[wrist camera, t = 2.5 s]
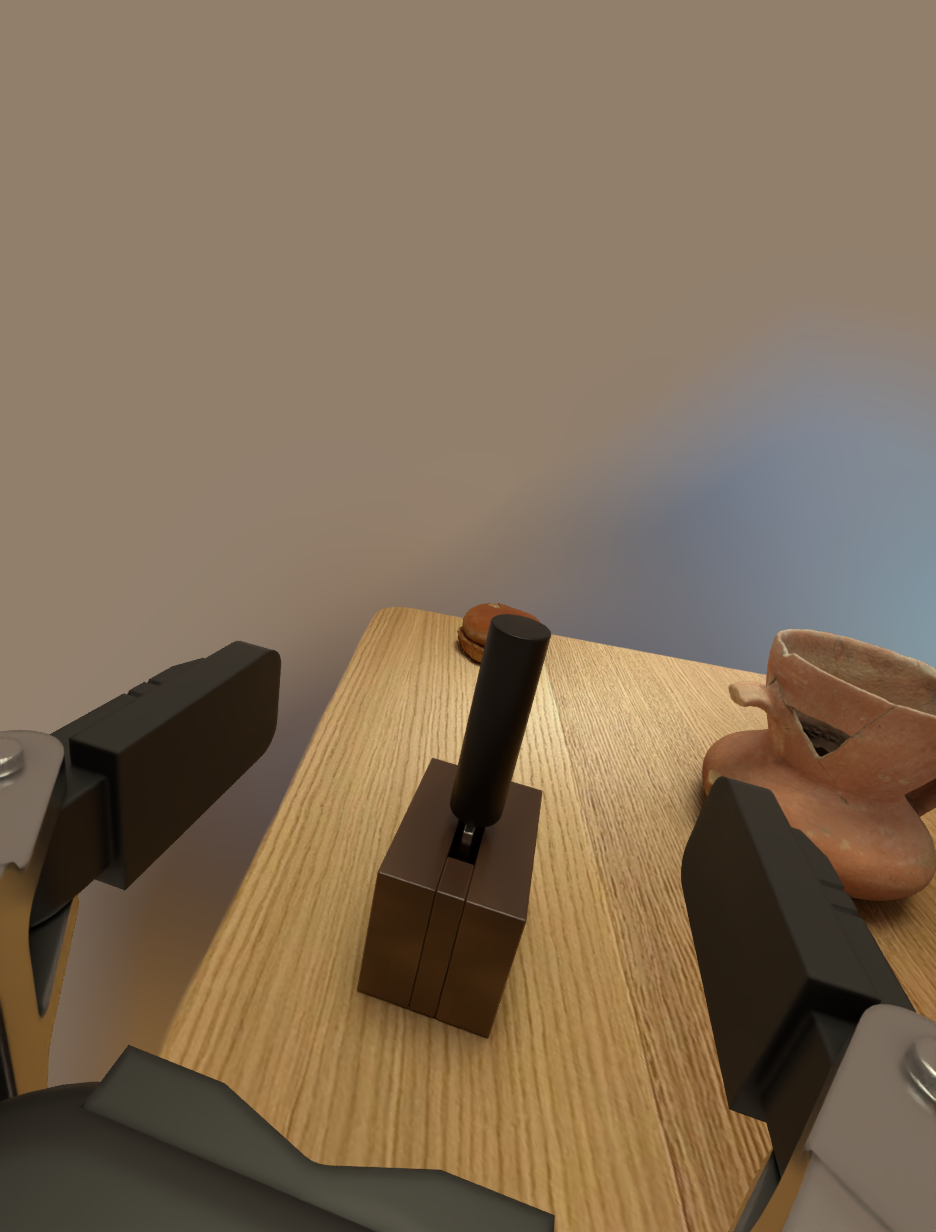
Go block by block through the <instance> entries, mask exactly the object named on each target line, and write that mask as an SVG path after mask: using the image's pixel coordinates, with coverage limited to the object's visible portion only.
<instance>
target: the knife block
mask: <svg viewBox="0 0 936 1232" xmlns="http://www.w3.org/2000/svg"><path fill="white" fill-rule="evenodd" d="M457 767H458V765H455V764H452V763H448V762H445V761H442V760H438V759H435V758H432V759H431V761H430V764H429V766H428V768H427V770H426V772H425V774H424V776H423V778H422V780H421V782H420V785H419V787H418V789H417V791H416V793H415V795H414V797H413V799H412V801H411V803H410V806H409V808H408V810H407V812H406V814H405V816H404V818H403V820H402V822H401V824H400V826H399V829H398V831H397V833H396V835H395V837H394V839H393V841H392V843H391V845H390V847H389V850H388V852H387V854H386V856H385V858H384V860H383V862H382V864H381V866H380V868H379V870H378V873H377V879H376V885H375V890H374V896H373V902H372V907H371V913H370V919H369V925H368V930H367V936H366V942H365V947H364V953H363V959H362V965H361V970H360V976H359V982H358V987H357V990H359V991H361V992H364V993H367V994H370V995H372V996H375V997H378V998H380V999H383V1000H386V1001H389V1002H391V1003H394V1004H397V1005H400V1006H402V1007H405V1008H408V1007H409V1008H410V1009H411V1010H414V1011H417V1012H419V1013H422V1014H425V1015H428V1016H430V1017H436V1019H438V1020H441V1021H444V1022H446V1023H449V1024H452V1025H455V1026H457V1027H460V1028H463V1029H465V1030H468V1031H471V1032H474V1033H476V1034H479V1035H482V1036H485V1037H489V1035H490V1032H491V1028H492V1025H493V1022H494V1019H495V1016H496V1013H497V1010H498V1007H499V1004H500V1001H501V998H502V995H503V991H504V988H505V985H506V982H507V979H508V976H509V973H510V970H511V967H512V964H513V961H514V957H515V954H516V951H517V948H518V945H519V942H520V939H521V936H522V933H523V930H524V927H525V923H526V918H527V910H528V903H529V895H530V887H531V879H532V871H533V863H534V855H535V847H536V839H537V831H538V823H539V815H540V807H541V799H542V791H541V790H538V789H535V788H531V787H528V786H525V785H521V784H518V783H515V782H511V784H510V788H509V791H508V795H507V799H506V802H505V806H504V810H503V813H502V816H501V818H500V820H499V821H498V822H497V823H496V824H494V825H492V826H489V827H476V830H475V834H474V838H473V842H472V846H471V850H470V854H469V858H468V861H467V863H466V862H463V861H460V860H457V857H458V853H459V849H460V845H461V841H462V837H463V833H464V829H465V826H466V824H465V823H463V822H461V821H460V820H459V819H457V818H456V817H455V815H454V814H453V813H452V811H451V808H450V798H451V794H452V789H453V785H454V780H455V776H456V771H457Z"/></svg>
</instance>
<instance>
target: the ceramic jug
mask: <svg viewBox="0 0 936 1232" xmlns="http://www.w3.org/2000/svg"><path fill="white" fill-rule="evenodd" d="M729 693H730V696H731V699H732V700H733V701H734V702H735V703H736V704H738V705H740V706H744V707H747V706H753V707H759V708H761V709H763V710H764V711H765V712H766V713H767V719H768V729H765V730H750V731H741V732H736V733H733V734H730V735H727V736H725V737H723V738H721V739H720V740H718V741H717V742H715V743H714V744H713V745H712V746H711V747H710V749H709V750H708V752H707V753H706V756H705V758H704V762H703V769H702V777H703V785H704V789H705V793H706V795H707V796H708V794H709V791H710V789H711V787H712V785H713V783H714V782H715V780H716V779H717V778H719V777H721V776H724V777H728V778H731V779H735V780H738V781H742V782H746V783H749V784H753V785H756V786H760V787H764V788H767V789H769V790H771V791H772V792H773V794H774V795H775V797H776V799H777V801H778V803H779V805H780V807H781V809H782V811H783V812H784V814H785V816H786V818H787V820H788V822H789V824H790V826H791V827H793V828H796V829H800V830H801V831H802V832H803V833H804V834H805V835H806V836H807V837H808V838H809V839H810V840H811V841H812V842H813V843H814V844H815V845H816V846H817V847H818V848H819V849H820V850H821V851H822V852H823V853H824V854H825V855H826V856H827V857H828V859H829V861H830V862H831V864H832V866H833V867H834V869H835V871H836V873H837V874H838V876H839V878H840V880H841V881H842V883H843V885H844V892H847V893H848V894H849V895H850V897H852V898H857V899H863V900H871V901H890V900H898V899H902V898H906V897H909V896H911V895H913V894H915V893H917V892H919V891H921V890H922V889H923V888H925V887H926V886H927V885H928V884H929V883H930V881H931V880H932V878H933V876H934V874H935V870H936V851H935V846H934V843H933V840H932V837H931V835H930V833H929V831H928V829H927V827H926V826H925V824H924V823H923V821H922V820H921V818H920V817H921V816H922V815H924V814H925V813H926V812H929V811H931V810H932V809H934V808H936V669H934V668H932V667H931V666H929V665H927V664H926V663H924V662H921V661H918V660H916V659H912V658H909V657H908V656H903V655H900V654H898V653H896V652H894V651H891V650H887V649H885V648H882V647H877V646H875V645H872V644H868V643H864V642H861V641H859V640H856V639H852V638H849V637H845V636H837V635H835V634H831V633H826V632H820V631H814V630H806V629H804V630H803V629H800V630H797V629H788V630H783V631H780V632H779V633H778V634H777V635H776V637H775V638H774V641H773V644H772V647H771V650H770V655H769V661H768V667H767V676H766V686H765V685H763V684H760V683H757V682H752V681H743V682H737V683H733V684H730V685H729Z"/></svg>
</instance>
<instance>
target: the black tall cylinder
mask: <svg viewBox="0 0 936 1232" xmlns="http://www.w3.org/2000/svg"><path fill="white" fill-rule="evenodd" d="M550 638H551V632H550V630H549V629H548V628H547V627H546V626H545V625H543V624H542V623H540V622H538V621H536V620H533V619H531V618H528V617H524V616H519V615H512V614H501V615H497V616H494V617H493V618H492V619H491V621H490V625H489V630H488V634H487V639H486V643H485V647H484V652H483V656H482V661H481V665H480V670H479V674H478V678H477V683H476V687H475V692H474V696H473V701H472V705H471V709H470V714H469V718H468V723H467V727H466V732H465V736H464V740H463V745H462V749H461V754H460V758H459V763H458V767H457V771H456V776H455V780H454V785H453V789H452V794H451V798H450V808H451V811H452V813H453V814H454V815H455V817H456V818H457V819H459V820H460V821H461V822H463V823H465V824H466V826H465V829H464V833H463V837H462V841H461V845H460V849H459V853H458V857H457V860H460V861H463V862H466V863H467V861H468V858H469V854H470V850H471V846H472V842H473V838H474V834H475V830H476V827H489V826H492V825H494V824H496V823H497V822H498V821H499V820H500V818H501V816H502V813H503V810H504V806H505V802H506V799H507V795H508V791H509V788H510V784H511V780H512V777H513V773H514V769H515V766H516V762H517V758H518V755H519V751H520V747H521V744H522V740H523V736H524V733H525V729H526V725H527V722H528V718H529V714H530V711H531V707H532V703H533V700H534V696H535V693H536V689H537V685H538V682H539V678H540V674H541V671H542V667H543V663H544V660H545V656H546V652H547V649H548V645H549V641H550Z"/></svg>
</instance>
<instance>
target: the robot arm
mask: <svg viewBox="0 0 936 1232" xmlns="http://www.w3.org/2000/svg"><path fill="white" fill-rule="evenodd" d="M280 671H281V659H280V655H279V653H278V652H276V651H275V650H271V649H267V648H264V647H260V646H256V645H253V644H249V643H246V642H242V641H235V642H233V643H231V644H230V645H228V646H226V647H224V648H222V649H221V650H219V651H217V652H216V653H214V654H212V655H211V656H209V657H207V658H201V659H197V660H194V661H190V662H186V663H183V664H179V665H176V666H172V667H170V668H169V669H167V670H165V671H164V672H161V673H160V674H158V675H156V676H154V677H152V678H151V679H149V681H148V683H145V682H143V683H142V684H140V685H138V686H136V687H134V688H133V689H131V690H129V692H128V694H122V695H120V696H119V697H117V698H115V699H113V700H111V701H109V702H107V703H106V704H104V705H102V706H100V707H99V708H97V709H95V710H93V711H91V712H89V713H88V714H86V715H84V716H82V717H80V718H79V719H77V720H75V721H73V722H71V723H70V724H68V725H66V726H64V727H62V728H61V729H59V730H57V731H55V732H53V733H52V734H50V735H49V734H46V733H42V732H37V731H28V730H11V731H1V732H0V1232H554V1218H555V1215H552V1214H550V1213H547V1212H545V1211H542V1210H540V1209H537V1208H535V1207H532V1206H530V1205H527V1204H525V1203H522V1202H520V1201H517V1200H515V1199H512V1198H510V1197H507V1196H505V1195H502V1194H500V1193H497V1192H495V1191H492V1190H490V1189H487V1188H485V1187H482V1186H480V1185H477V1184H475V1183H472V1182H470V1181H467V1180H465V1179H462V1178H460V1177H457V1176H455V1175H452V1174H450V1173H447V1172H445V1171H442V1170H432V1169H406V1168H380V1167H355V1166H329V1165H322V1164H318V1163H316V1162H313V1161H311V1160H310V1159H308V1158H307V1157H306V1156H304V1155H303V1154H302V1153H301V1152H300V1151H299V1150H298V1149H297V1148H295V1147H294V1146H293V1145H292V1144H291V1143H290V1142H289V1141H288V1140H287V1139H286V1138H284V1137H283V1136H282V1135H281V1134H280V1133H279V1132H278V1131H277V1130H276V1129H274V1128H273V1127H272V1126H271V1125H270V1124H269V1123H268V1122H267V1121H266V1120H265V1119H263V1118H262V1117H261V1116H260V1115H259V1114H258V1113H257V1112H256V1111H255V1110H253V1109H252V1108H251V1107H250V1106H249V1105H248V1104H247V1103H246V1102H245V1101H244V1100H242V1099H241V1098H240V1097H239V1096H238V1095H237V1094H236V1093H235V1092H234V1091H233V1090H231V1089H230V1088H229V1087H228V1086H227V1085H226V1084H225V1083H223V1082H220V1081H218V1080H215V1079H213V1078H210V1077H208V1076H205V1075H203V1074H200V1073H198V1072H195V1071H193V1070H190V1069H188V1068H185V1067H183V1066H180V1065H178V1064H175V1063H173V1062H170V1061H168V1060H165V1059H163V1058H160V1057H158V1056H155V1055H152V1054H150V1053H148V1052H145V1051H142V1050H140V1049H138V1048H135V1047H133V1046H130V1045H128V1047H127V1048H126V1049H125V1050H124V1052H123V1053H122V1054H121V1056H120V1057H119V1058H118V1060H117V1061H116V1062H115V1064H114V1065H113V1066H112V1068H111V1069H110V1071H109V1072H108V1073H107V1074H106V1076H105V1077H104V1078H103V1080H102V1081H101V1082H86V1083H76V1084H66V1085H60V1086H55V1087H51V1088H48V1063H49V1051H50V1043H51V1037H52V1031H53V1026H54V1022H55V1017H56V1012H57V1007H58V1003H59V998H60V994H61V988H62V984H63V980H64V975H65V970H66V966H67V960H68V956H69V951H70V947H71V942H72V937H73V933H74V928H75V924H76V919H77V914H78V908H79V900H78V894H79V893H80V892H81V891H82V890H83V889H84V888H85V887H86V886H88V885H89V884H90V883H91V882H92V881H93V880H94V879H95V880H98V881H101V882H104V883H106V884H109V885H112V886H115V887H118V888H120V889H123V890H126V889H127V888H128V887H129V886H130V885H131V884H132V883H133V882H134V881H135V880H136V879H137V878H138V877H139V876H140V875H141V874H142V873H143V872H144V871H145V870H146V869H147V868H148V867H149V866H150V865H151V864H152V863H153V862H154V861H155V860H156V859H158V857H160V856H161V855H162V854H163V853H164V852H165V851H166V850H167V849H168V848H169V847H170V846H171V845H172V844H173V843H174V842H175V841H176V840H177V839H178V838H179V837H180V836H181V835H182V834H183V833H184V832H185V831H186V830H187V829H188V828H189V827H190V826H191V825H192V824H193V823H194V822H195V821H196V820H197V819H198V818H199V817H200V816H201V815H202V814H203V813H204V812H205V811H206V810H207V809H208V808H209V807H210V806H211V805H212V804H213V803H214V802H215V801H216V800H217V799H219V798H220V797H221V796H222V794H224V793H225V792H226V791H227V790H228V789H229V788H230V787H231V786H232V785H233V784H234V783H235V782H236V781H237V780H238V779H239V778H240V777H241V776H242V775H243V774H244V773H245V772H246V771H247V770H248V769H249V768H250V767H251V766H252V765H253V764H254V763H255V762H256V761H257V760H258V759H259V758H260V757H261V756H262V755H263V754H264V753H265V751H266V750H267V748H268V747H269V745H270V743H271V741H272V738H273V736H274V733H275V730H276V725H277V715H278V699H279V686H280ZM681 882H682V889H683V893H684V898H685V903H686V908H687V912H688V917H689V922H690V926H691V931H692V936H693V941H694V945H695V950H696V955H697V960H698V964H699V969H700V974H701V978H702V983H703V988H704V993H705V997H706V1002H707V1007H708V1011H709V1016H710V1021H711V1026H712V1030H713V1035H714V1040H715V1045H716V1049H717V1054H718V1059H719V1063H720V1068H721V1073H722V1078H723V1082H724V1087H725V1092H726V1097H727V1101H728V1106H729V1109H730V1110H733V1111H735V1112H738V1113H741V1114H744V1115H747V1116H749V1117H752V1118H755V1119H758V1120H761V1121H763V1122H766V1123H767V1127H768V1130H769V1134H770V1138H771V1142H772V1146H773V1147H772V1149H771V1150H770V1152H769V1153H768V1155H767V1156H766V1157H765V1159H764V1160H763V1162H762V1164H761V1166H760V1168H759V1170H758V1172H757V1174H756V1176H755V1178H754V1180H753V1182H752V1184H751V1186H750V1188H749V1190H748V1192H747V1194H746V1196H745V1198H744V1200H743V1203H742V1205H741V1207H740V1209H739V1211H738V1213H737V1215H736V1217H735V1219H734V1221H733V1223H732V1225H731V1227H730V1229H729V1231H728V1232H936V1023H935V1022H933V1021H931V1020H930V1019H928V1018H926V1017H924V1016H922V1015H920V1014H918V1013H916V1011H915V1009H914V1007H913V1006H912V1004H911V1002H910V1000H909V999H908V997H907V995H906V993H905V992H904V990H903V988H902V986H901V985H900V983H899V981H898V979H897V978H896V976H895V974H894V972H893V971H892V969H891V967H890V965H889V964H888V962H887V960H886V958H885V957H884V955H883V953H882V951H881V950H880V948H879V946H878V944H877V943H876V941H875V939H874V937H873V936H872V934H871V932H870V930H869V929H868V927H867V925H866V923H865V922H864V920H863V918H859V917H858V913H859V911H858V909H857V908H856V906H855V904H854V902H853V901H852V899H851V897H850V895H849V894H848V893H847V892H844V885H843V883H842V881H841V880H840V878H839V876H838V874H837V873H836V871H835V869H834V867H833V866H832V864H831V862H830V861H829V859H828V857H827V856H826V855H825V854H824V853H823V852H822V851H821V850H820V849H819V848H818V847H817V846H816V845H815V844H814V843H813V842H812V841H811V840H810V839H809V838H808V837H807V836H806V835H805V834H804V833H803V832H802V831H801V830H800V829H796V828H793V827H791V826H790V824H789V822H788V820H787V818H786V816H785V814H784V812H783V811H782V809H781V807H780V805H779V803H778V801H777V799H776V797H775V795H774V794H773V792H772V791H771V790H769V789H767V788H764V787H760V786H756V785H753V784H749V783H746V782H742V781H738V780H735V779H731V778H728V777H724V776H721V777H719V778H717V779H716V780H715V782H714V783H713V785H712V787H711V789H710V791H709V794H708V796H707V798H706V801H705V803H704V805H703V808H702V810H701V812H700V815H699V817H698V819H697V822H696V824H695V826H694V828H693V831H692V833H691V835H690V838H689V840H688V842H687V845H686V848H685V851H684V855H683V860H682V867H681Z"/></svg>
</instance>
